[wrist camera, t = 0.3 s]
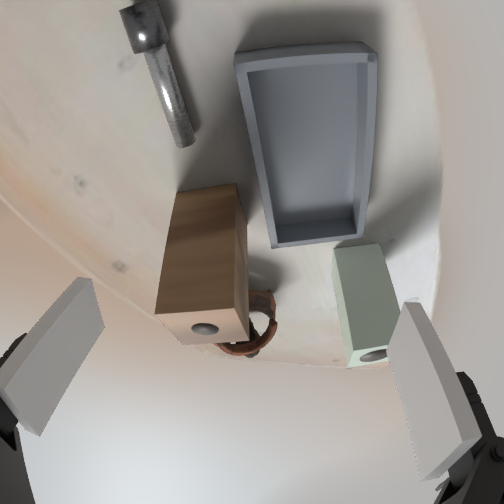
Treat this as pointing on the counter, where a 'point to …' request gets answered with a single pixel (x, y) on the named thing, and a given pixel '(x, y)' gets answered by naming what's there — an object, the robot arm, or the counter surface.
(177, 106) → the rod
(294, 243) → the slate tray
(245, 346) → the pottery mug
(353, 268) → the sage block
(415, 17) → the counter surface
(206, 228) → the walnut block
